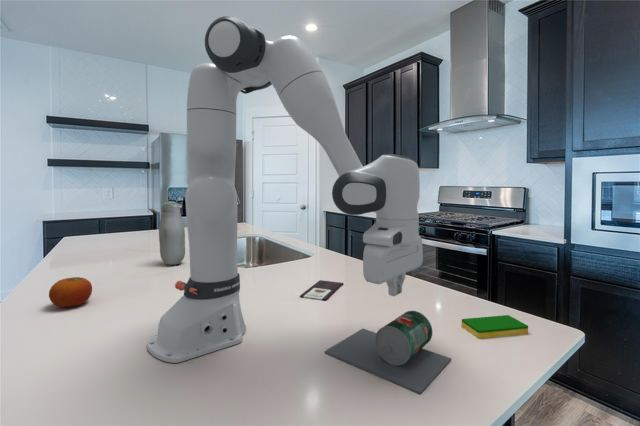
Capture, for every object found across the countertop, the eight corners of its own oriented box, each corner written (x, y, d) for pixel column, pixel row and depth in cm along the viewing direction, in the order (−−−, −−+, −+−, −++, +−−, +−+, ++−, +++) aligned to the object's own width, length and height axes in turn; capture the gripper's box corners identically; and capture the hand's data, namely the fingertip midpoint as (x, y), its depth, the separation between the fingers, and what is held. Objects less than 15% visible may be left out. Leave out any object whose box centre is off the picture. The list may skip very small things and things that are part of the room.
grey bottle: (165, 262, 155) (162, 200, 152) (188, 261, 156) (185, 200, 153) (157, 267, 145) (153, 202, 142) (182, 266, 146) (179, 201, 143)
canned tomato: (414, 303, 77) (390, 318, 68) (440, 333, 73) (418, 352, 65) (393, 323, 80) (368, 339, 72) (416, 352, 77) (393, 373, 69)
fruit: (41, 308, 100) (39, 282, 99) (77, 297, 109) (75, 272, 109) (66, 313, 96) (64, 286, 95) (101, 301, 106) (99, 276, 105)
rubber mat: (420, 394, 60) (420, 392, 60) (324, 353, 74) (324, 351, 74) (451, 360, 71) (451, 358, 71) (362, 329, 86) (362, 328, 86)
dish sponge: (460, 327, 88) (460, 318, 88) (507, 323, 90) (508, 314, 90) (478, 340, 81) (478, 330, 81) (528, 335, 83) (529, 325, 83)
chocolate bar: (343, 282, 122) (326, 299, 106) (343, 285, 122) (326, 302, 106) (319, 280, 126) (299, 295, 109) (319, 282, 126) (299, 298, 109)
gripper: (405, 225, 83) (403, 280, 84) (357, 235, 67) (356, 303, 69) (430, 227, 79) (428, 285, 80) (386, 239, 63) (384, 311, 64)
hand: (395, 294), depth 74 cm, fingers closed
